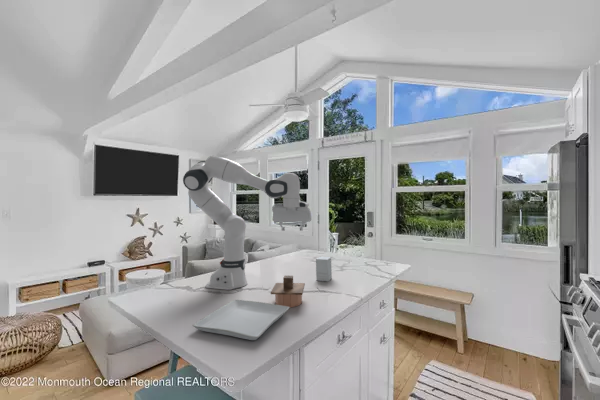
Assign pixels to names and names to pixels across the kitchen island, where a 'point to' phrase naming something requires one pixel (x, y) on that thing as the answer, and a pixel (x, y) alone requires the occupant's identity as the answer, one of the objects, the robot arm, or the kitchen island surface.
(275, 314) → the square plate
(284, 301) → the terracotta bowl
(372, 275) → the kitchen island surface
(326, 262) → the supplement box
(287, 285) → the walnut lid
